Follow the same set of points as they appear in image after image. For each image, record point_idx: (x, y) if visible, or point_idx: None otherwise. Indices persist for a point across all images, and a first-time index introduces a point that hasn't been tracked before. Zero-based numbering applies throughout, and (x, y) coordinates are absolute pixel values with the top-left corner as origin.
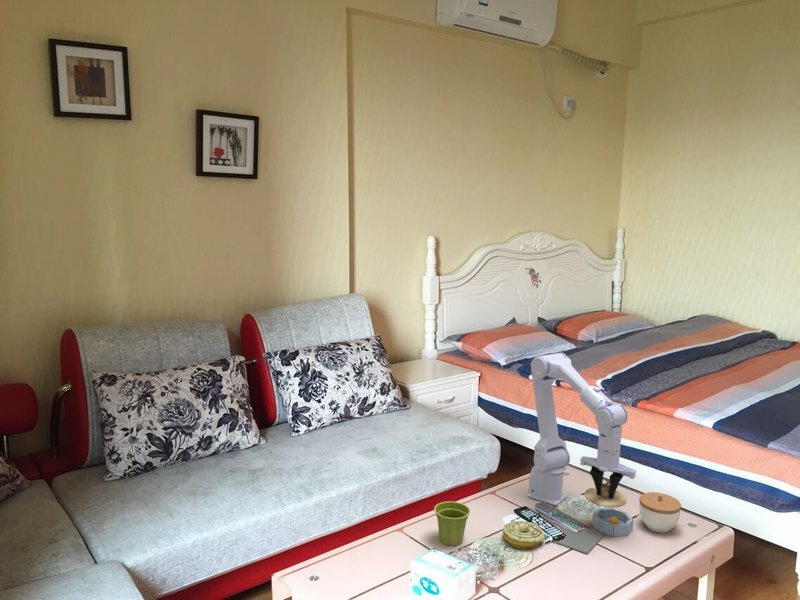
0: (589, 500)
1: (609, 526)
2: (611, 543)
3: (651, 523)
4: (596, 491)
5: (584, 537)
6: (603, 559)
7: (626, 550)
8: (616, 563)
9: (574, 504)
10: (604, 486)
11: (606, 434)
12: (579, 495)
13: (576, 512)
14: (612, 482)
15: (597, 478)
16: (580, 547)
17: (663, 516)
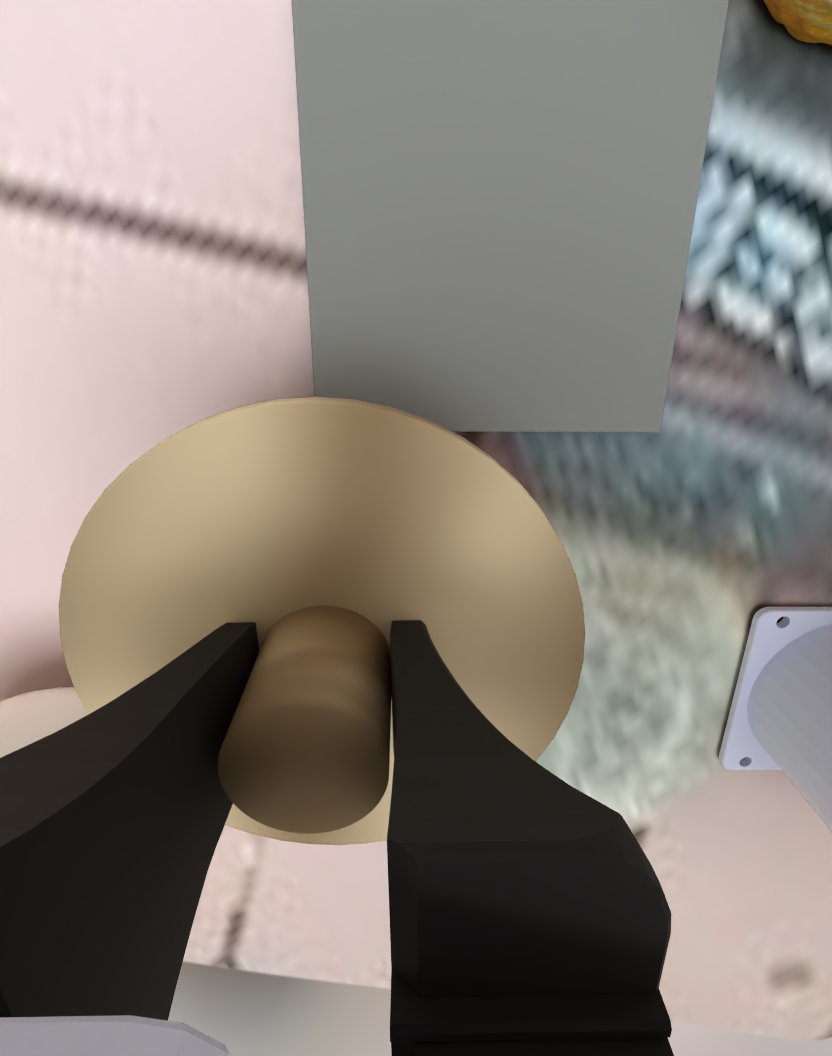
0: (455, 433)
1: None
2: (226, 349)
3: (58, 696)
4: (428, 636)
5: (418, 270)
6: (152, 24)
7: (94, 321)
8: (40, 37)
9: (644, 700)
10: (312, 729)
11: None
12: (647, 813)
13: (600, 613)
14: (37, 781)
15: (412, 771)
16: (381, 58)
17: None
